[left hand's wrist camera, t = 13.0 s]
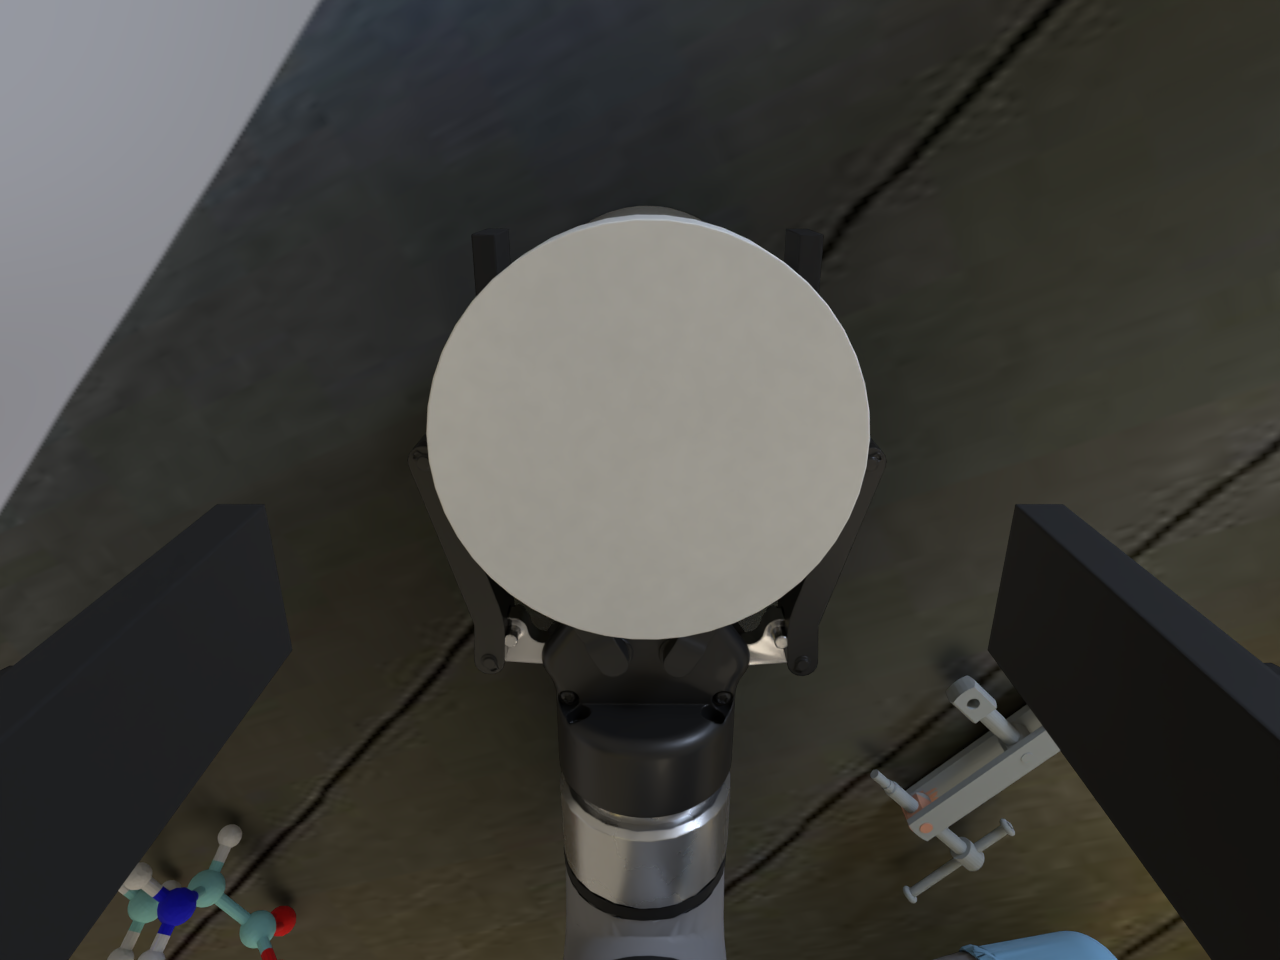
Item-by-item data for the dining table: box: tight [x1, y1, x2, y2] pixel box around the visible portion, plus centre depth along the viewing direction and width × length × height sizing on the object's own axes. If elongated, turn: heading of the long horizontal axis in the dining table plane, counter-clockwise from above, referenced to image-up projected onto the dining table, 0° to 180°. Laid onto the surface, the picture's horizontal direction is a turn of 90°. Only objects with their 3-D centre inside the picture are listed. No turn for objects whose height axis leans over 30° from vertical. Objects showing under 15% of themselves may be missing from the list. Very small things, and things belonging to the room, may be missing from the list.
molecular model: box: [107, 824, 296, 960], centre depth 42 cm, size 12×10×10 cm
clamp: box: [870, 676, 1060, 903], centre depth 42 cm, size 15×2×10 cm
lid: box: [426, 215, 870, 639], centre depth 20 cm, size 11×11×2 cm
